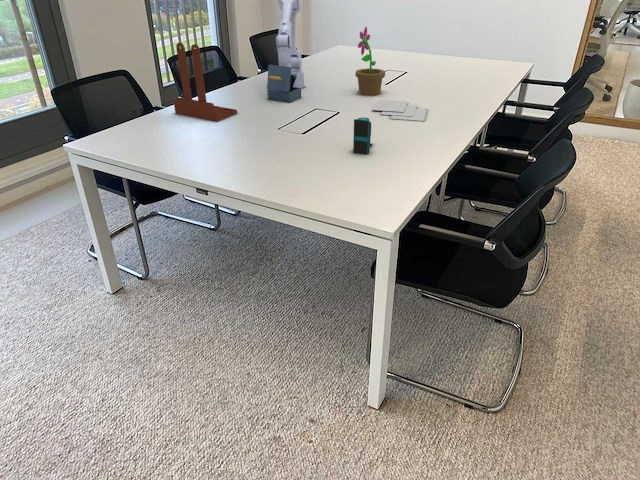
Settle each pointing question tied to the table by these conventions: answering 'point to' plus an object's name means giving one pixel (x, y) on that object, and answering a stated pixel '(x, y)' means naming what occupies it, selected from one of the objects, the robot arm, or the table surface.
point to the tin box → (284, 95)
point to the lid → (279, 78)
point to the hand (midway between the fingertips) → (286, 91)
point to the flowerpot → (368, 71)
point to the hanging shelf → (193, 106)
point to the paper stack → (400, 110)
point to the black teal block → (362, 136)
